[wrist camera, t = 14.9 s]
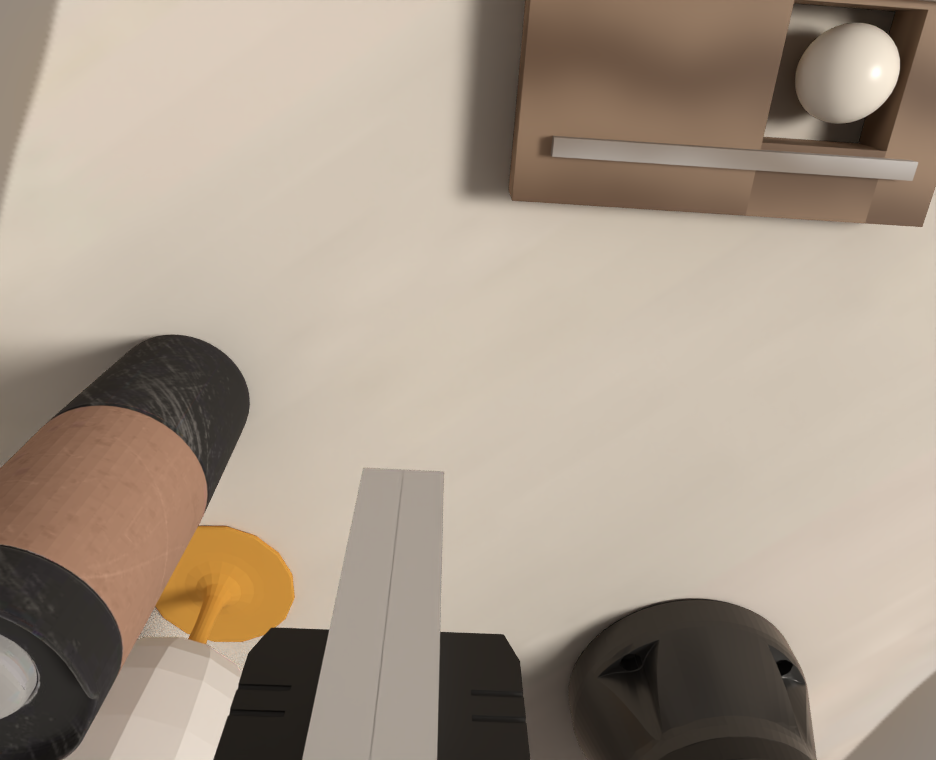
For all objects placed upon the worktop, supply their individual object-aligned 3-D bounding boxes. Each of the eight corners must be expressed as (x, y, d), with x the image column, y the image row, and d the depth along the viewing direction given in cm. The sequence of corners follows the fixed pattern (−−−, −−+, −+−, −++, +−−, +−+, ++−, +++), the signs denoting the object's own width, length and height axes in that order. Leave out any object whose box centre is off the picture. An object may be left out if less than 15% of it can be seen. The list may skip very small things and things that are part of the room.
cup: (354, 605, 46) (305, 892, 31) (211, 681, 49) (99, 980, 33) (232, 472, 42) (104, 727, 27) (81, 562, 45) (-116, 843, 29)
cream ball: (898, 134, 31) (804, 125, 31) (854, 120, 34) (770, 112, 34) (935, 29, 29) (835, 19, 29) (884, 25, 33) (796, 16, 32)
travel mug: (83, 357, 39) (-240, 641, 21) (212, 308, 38) (-10, 561, 20) (159, 472, 42) (-65, 806, 24) (280, 430, 41) (142, 745, 23)
